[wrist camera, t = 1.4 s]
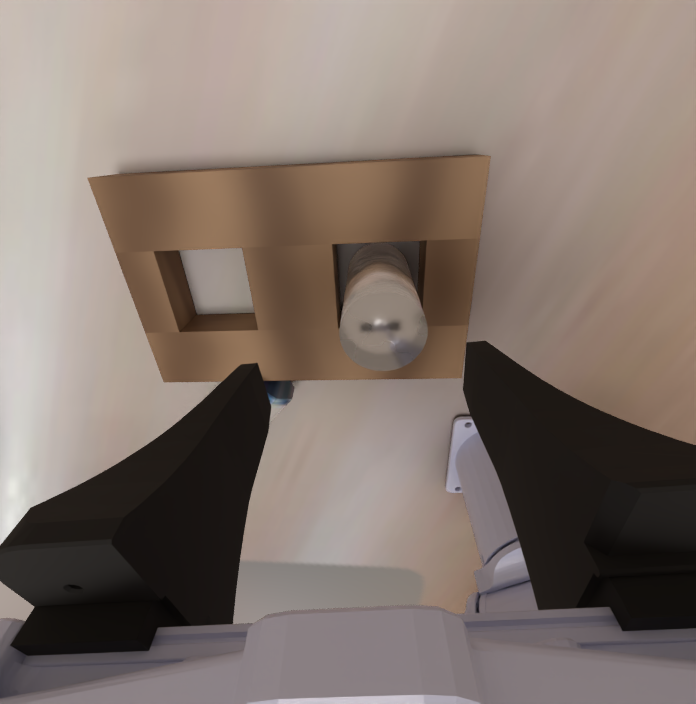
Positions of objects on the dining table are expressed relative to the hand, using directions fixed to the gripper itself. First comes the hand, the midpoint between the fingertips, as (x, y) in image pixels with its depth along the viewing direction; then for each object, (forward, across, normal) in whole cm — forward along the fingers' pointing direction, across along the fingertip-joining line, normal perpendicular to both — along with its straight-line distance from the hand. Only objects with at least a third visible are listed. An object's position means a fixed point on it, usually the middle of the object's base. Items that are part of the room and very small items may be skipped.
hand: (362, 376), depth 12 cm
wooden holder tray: (+11, +3, 0) cm, 11 cm away
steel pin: (+11, -1, 0) cm, 11 cm away
